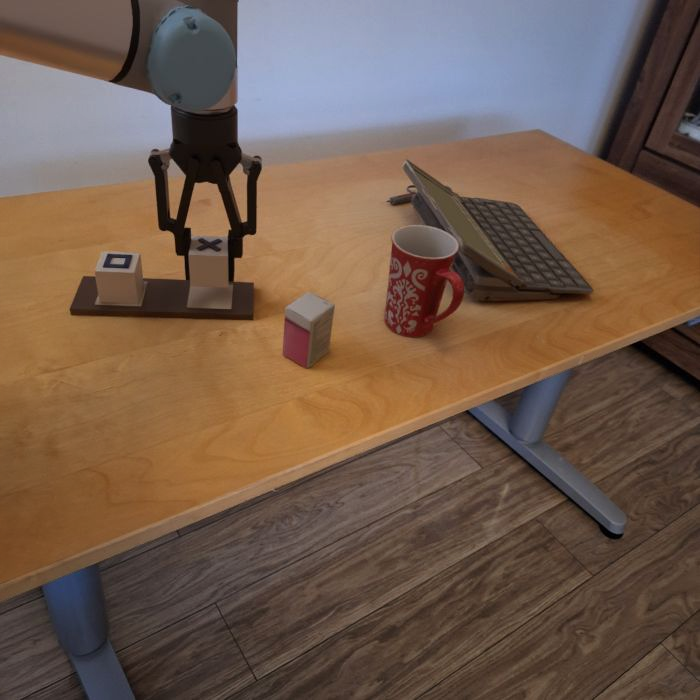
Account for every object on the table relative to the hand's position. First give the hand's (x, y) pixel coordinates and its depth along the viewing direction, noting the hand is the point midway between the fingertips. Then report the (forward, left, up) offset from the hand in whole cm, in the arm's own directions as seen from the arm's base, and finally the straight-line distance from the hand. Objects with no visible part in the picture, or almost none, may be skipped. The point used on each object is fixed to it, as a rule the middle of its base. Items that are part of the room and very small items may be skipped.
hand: (210, 275), depth 85 cm
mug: (+29, -5, -5) cm, 30 cm away
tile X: (0, 0, 0) cm, 0 cm away
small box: (+13, -11, -5) cm, 18 cm away
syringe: (+37, +37, -5) cm, 52 cm away
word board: (-6, 0, -5) cm, 8 cm away
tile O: (-12, 0, -3) cm, 12 cm away
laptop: (+46, +18, -5) cm, 50 cm away
